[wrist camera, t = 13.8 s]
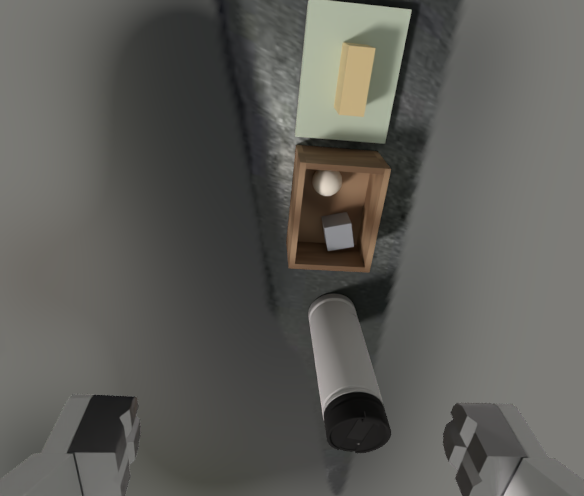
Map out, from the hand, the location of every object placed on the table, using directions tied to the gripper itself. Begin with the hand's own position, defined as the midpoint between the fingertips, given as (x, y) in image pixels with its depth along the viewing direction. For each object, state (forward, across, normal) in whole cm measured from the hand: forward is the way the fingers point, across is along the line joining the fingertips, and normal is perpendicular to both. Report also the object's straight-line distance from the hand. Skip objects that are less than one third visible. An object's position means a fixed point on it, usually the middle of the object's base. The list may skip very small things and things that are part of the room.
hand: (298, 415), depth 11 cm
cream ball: (+38, -6, +7) cm, 40 cm away
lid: (+39, -7, -4) cm, 40 cm away
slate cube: (+38, -8, +13) cm, 41 cm away
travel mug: (+40, -10, +26) cm, 48 cm away
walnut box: (+39, -7, +10) cm, 41 cm away
